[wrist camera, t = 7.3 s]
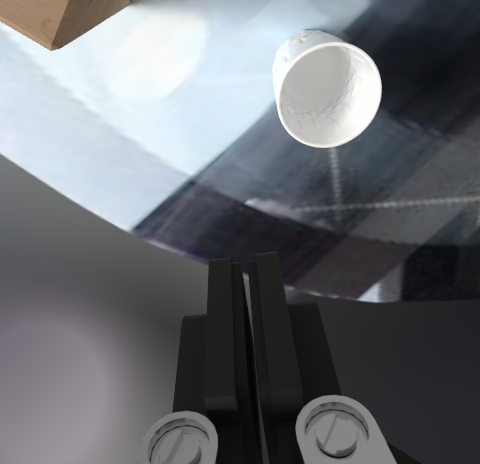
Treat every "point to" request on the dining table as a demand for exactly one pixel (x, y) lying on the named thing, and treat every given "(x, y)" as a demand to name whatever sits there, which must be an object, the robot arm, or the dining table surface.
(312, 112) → the white cup
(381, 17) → the dining table surface
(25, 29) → the decorative block
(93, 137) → the dining table surface
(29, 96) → the dining table surface
